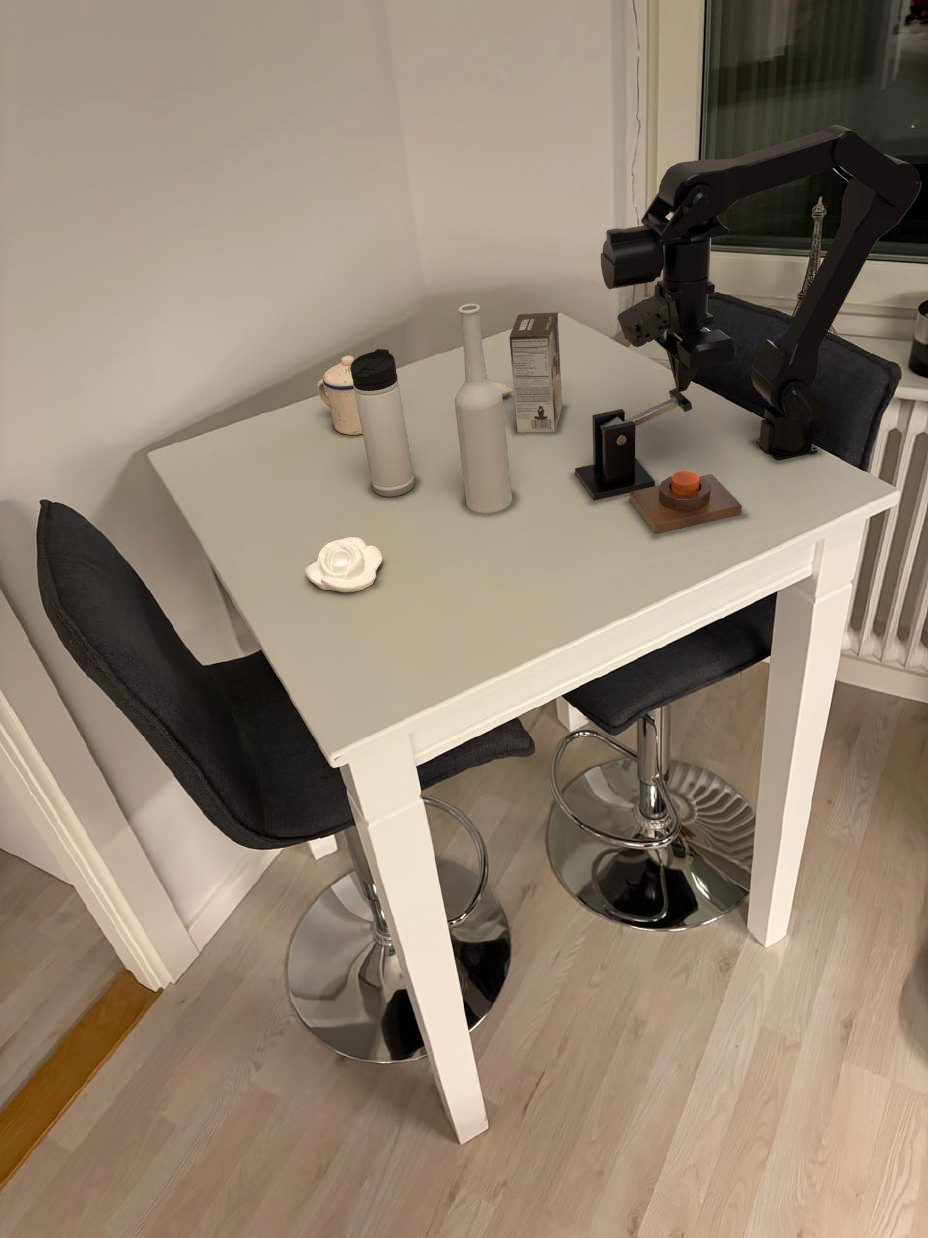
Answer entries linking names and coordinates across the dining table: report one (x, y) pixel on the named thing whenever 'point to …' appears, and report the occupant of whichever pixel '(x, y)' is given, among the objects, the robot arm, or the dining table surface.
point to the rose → (345, 565)
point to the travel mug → (383, 422)
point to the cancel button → (685, 483)
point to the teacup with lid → (341, 397)
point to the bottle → (481, 425)
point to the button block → (684, 505)
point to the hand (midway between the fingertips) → (681, 390)
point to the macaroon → (503, 389)
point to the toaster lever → (656, 410)
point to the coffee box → (536, 372)
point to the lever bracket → (613, 460)
